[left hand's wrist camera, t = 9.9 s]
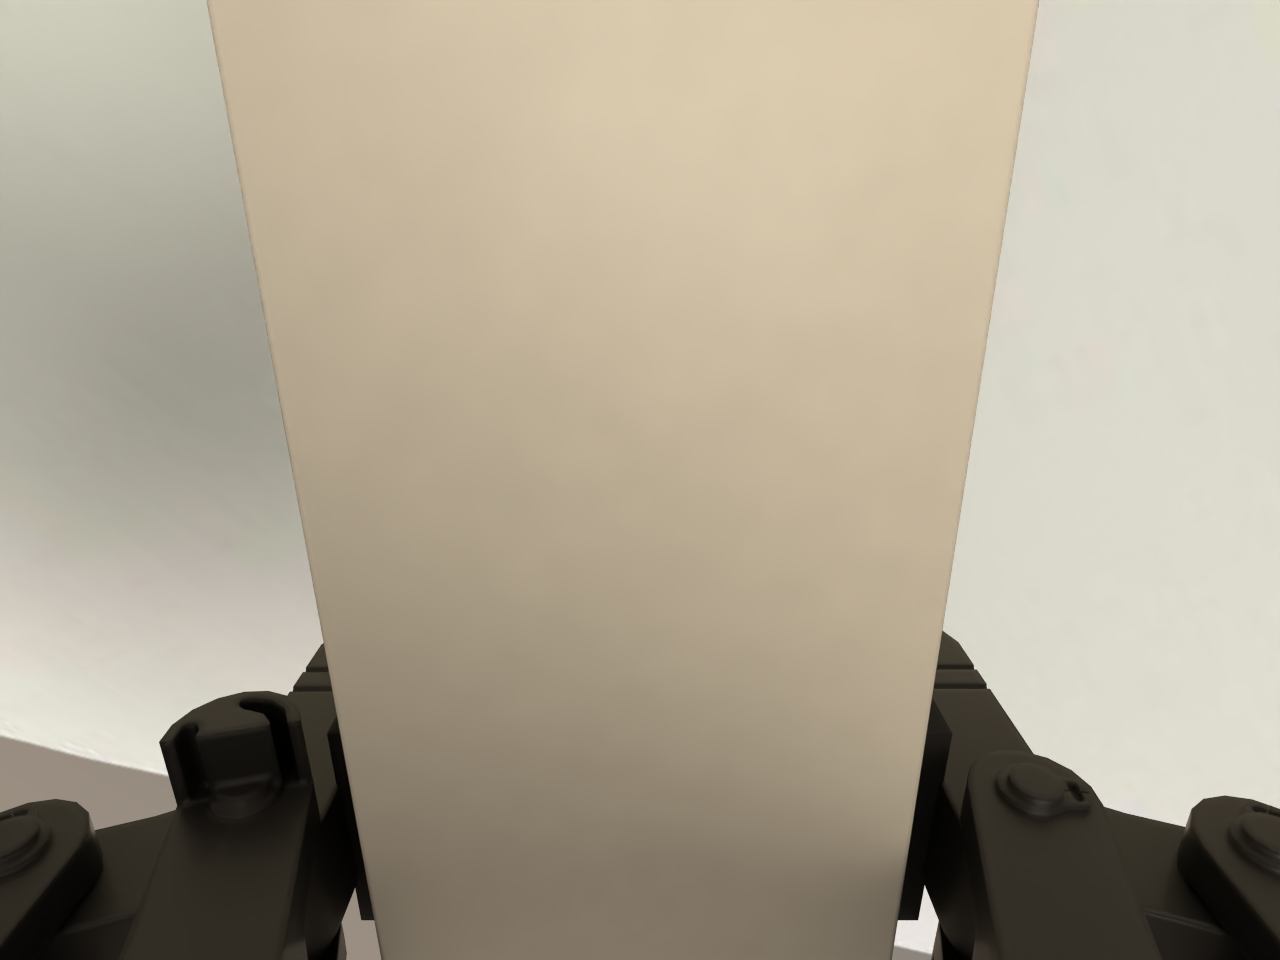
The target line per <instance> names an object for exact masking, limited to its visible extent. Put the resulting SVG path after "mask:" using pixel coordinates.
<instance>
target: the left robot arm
mask: <svg viewBox="0 0 1280 960" xmlns="http://www.w3.org/2000/svg"><path fill="white" fill-rule="evenodd" d="M159 743H160V747H161V750H162V754H163V757H164V761H165V764H166V768H167V771H168V775H169V778H170V782H171V785H172V789H173V792H174V796H175V799H176V803H177V808H176V810H174V811H171V812H168V813H164V814H161V815H158V816H154V817H150V818H146V819H141V820H137V821H133V822H129V823H124V824H120V825H116V826H112V827H107V828H103V829H99V830H94V827H93V824H92V821H91V818H90V815H89V812H87V811H86V810H85V809H84V808H83V807H82V806H80V805H79V804H78V803H77V802H71V801H65V800H59V799H52V800H46V801H38V802H31V803H27V804H24V805H21V806H18V807H15V808H12V809H9V810H6V811H4V812H1V813H0V960H346V955H347V953H346V946H345V939H344V933H343V928H342V923H341V922H342V919H343V917H344V914H345V912H346V909H347V907H348V904H349V901H350V899H351V896H352V894H353V891H354V889H355V888H356V893H357V899H358V904H359V909H360V915H361V920H374V915H373V910H372V904H371V899H370V893H369V888H368V882H367V877H366V871H365V866H364V860H363V855H362V849H361V844H360V838H359V833H358V827H357V822H356V816H355V811H354V806H353V800H352V795H351V789H350V784H349V778H348V773H347V767H346V762H345V756H344V751H343V745H342V740H341V734H340V729H339V723H338V718H337V712H336V707H335V701H334V696H333V690H332V685H331V679H330V674H329V668H328V663H327V658H326V652H325V647H324V643H323V644H322V645H321V646H320V648H319V649H318V651H317V652H316V654H315V655H314V657H313V658H312V660H311V661H310V663H309V664H308V666H307V667H306V672H303V673H302V675H301V676H300V678H299V679H298V680H297V682H296V683H295V685H294V686H293V692H289V694H288V695H287V696H286V695H282V694H278V693H274V692H270V691H255V692H242V693H238V694H234V695H230V696H226V697H222V698H218V699H215V700H213V701H211V702H209V703H207V704H204V705H202V706H200V707H198V708H196V709H193V710H192V711H190V712H189V713H188V714H186V715H185V716H184V717H182V718H181V719H180V720H178V721H177V722H175V723H174V724H173V725H172V726H171V727H170V728H169V730H168V731H167V732H166V734H165V735H164V736H163V738H162V739H161V740H160V742H159ZM924 885H925V887H926V889H927V892H928V894H929V897H930V899H931V902H932V904H933V907H934V909H935V912H936V914H937V917H938V919H939V923H938V928H937V933H936V938H935V943H934V948H933V953H932V958H931V960H1280V809H1278V808H1275V807H1273V806H1269V805H1267V804H1264V803H1261V802H1258V801H1255V800H1252V799H1245V798H1238V797H1231V796H1219V797H1213V798H1206V799H1203V800H1202V801H1201V802H1199V803H1198V804H1197V805H1196V806H1195V807H1194V808H1192V810H1191V813H1190V816H1189V819H1188V821H1187V824H1186V827H1182V826H1178V825H1174V824H1170V823H1165V822H1161V821H1157V820H1152V819H1148V818H1144V817H1139V816H1135V815H1131V814H1126V813H1123V812H1119V811H1116V810H1113V809H1110V808H1106V807H1104V806H1103V804H1102V803H1101V801H1100V800H1099V798H1098V797H1097V795H1096V794H1095V792H1094V790H1093V789H1092V787H1091V786H1090V785H1088V784H1087V783H1086V782H1085V781H1084V780H1082V779H1081V778H1080V777H1079V776H1078V775H1076V774H1075V773H1074V772H1073V771H1072V770H1070V769H1068V768H1066V767H1064V766H1062V765H1060V764H1058V763H1056V762H1054V761H1052V760H1050V759H1048V758H1046V757H1042V756H1038V755H1035V754H1033V752H1032V751H1031V749H1030V748H1029V746H1028V745H1027V743H1026V742H1025V740H1024V739H1023V738H1022V736H1021V735H1020V733H1019V732H1018V730H1017V729H1016V727H1015V726H1014V724H1013V723H1012V721H1011V720H1010V718H1009V717H1008V715H1007V714H1006V712H1005V711H1004V709H1003V708H1002V706H1001V705H1000V703H999V702H998V700H997V699H996V697H995V696H994V694H993V693H992V691H991V690H990V689H987V687H986V683H985V681H984V680H983V678H982V677H981V675H980V674H979V672H978V671H977V670H974V665H973V663H972V662H971V660H970V659H969V657H968V656H967V654H966V653H965V651H964V650H963V648H962V647H961V645H960V644H959V642H957V641H956V640H954V639H953V638H952V637H950V636H949V635H948V634H946V633H945V632H943V631H942V635H941V642H940V648H939V655H938V661H937V668H936V674H935V681H934V687H933V694H932V700H931V707H930V713H929V720H928V726H927V733H926V739H925V746H924V752H923V759H922V765H921V772H920V778H919V785H918V791H917V798H916V804H915V811H914V817H913V824H912V830H911V837H910V843H909V850H908V856H907V863H906V869H905V876H904V882H903V888H902V895H901V901H900V908H899V914H898V920H918V917H919V912H920V906H921V901H922V896H923V890H924Z"/></svg>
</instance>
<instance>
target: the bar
mask: <svg viewBox="0 0 1280 960" xmlns="http://www.w3.org/2000/svg"><path fill="white" fill-rule="evenodd" d="M207 5H208V11H209V16H210V22H211V27H212V33H213V38H214V44H215V49H216V55H217V60H218V66H219V71H220V76H221V82H222V87H223V93H224V98H225V104H226V109H227V115H228V120H229V126H230V131H231V137H232V142H233V148H234V153H235V159H236V164H237V170H238V175H239V181H240V186H241V192H242V197H243V203H244V208H245V214H246V219H247V224H248V230H249V235H250V241H251V246H252V252H253V257H254V263H255V268H256V274H257V279H258V285H259V290H260V296H261V301H262V307H263V312H264V318H265V323H266V329H267V334H268V340H269V345H270V351H271V356H272V362H273V367H274V372H275V378H276V383H277V389H278V394H279V400H280V405H281V411H282V416H283V422H284V427H285V433H286V438H287V444H288V449H289V455H290V460H291V466H292V471H293V477H294V482H295V488H296V493H297V499H298V504H299V510H300V515H301V520H302V526H303V531H304V537H305V542H306V548H307V553H308V559H309V564H310V570H311V575H312V581H313V586H314V592H315V597H316V603H317V608H318V614H319V619H320V625H321V630H322V636H323V641H324V647H325V652H326V658H327V663H328V668H329V674H330V679H331V685H332V690H333V696H334V701H335V707H336V712H337V718H338V723H339V729H340V734H341V740H342V745H343V751H344V756H345V762H346V767H347V773H348V778H349V784H350V789H351V795H352V800H353V806H354V811H355V816H356V822H357V827H358V833H359V838H360V844H361V849H362V855H363V860H364V866H365V871H366V877H367V882H368V888H369V893H370V899H371V904H372V910H373V915H374V921H375V926H376V932H377V937H378V943H379V948H380V954H381V959H382V960H892V953H893V947H894V940H895V934H896V927H897V921H898V914H899V908H900V901H901V895H902V888H903V882H904V876H905V869H906V863H907V856H908V850H909V843H910V837H911V830H912V824H913V817H914V811H915V804H916V798H917V791H918V785H919V778H920V772H921V765H922V759H923V752H924V746H925V739H926V733H927V726H928V720H929V713H930V707H931V700H932V694H933V687H934V681H935V674H936V668H937V661H938V655H939V648H940V642H941V635H942V629H943V622H944V616H945V609H946V603H947V596H948V590H949V583H950V577H951V570H952V564H953V557H954V551H955V544H956V538H957V531H958V525H959V518H960V512H961V505H962V499H963V492H964V486H965V479H966V473H967V466H968V460H969V453H970V447H971V440H972V434H973V427H974V421H975V414H976V408H977V401H978V395H979V388H980V382H981V375H982V369H983V362H984V356H985V349H986V343H987V336H988V330H989V323H990V317H991V310H992V304H993V297H994V291H995V284H996V278H997V271H998V265H999V258H1000V252H1001V245H1002V239H1003V232H1004V226H1005V219H1006V213H1007V206H1008V200H1009V193H1010V187H1011V180H1012V174H1013V167H1014V161H1015V154H1016V148H1017V141H1018V135H1019V128H1020V122H1021V116H1022V109H1023V103H1024V96H1025V90H1026V83H1027V77H1028V70H1029V64H1030V57H1031V51H1032V44H1033V38H1034V31H1035V25H1036V18H1037V12H1038V5H1039V0H207Z"/></svg>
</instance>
